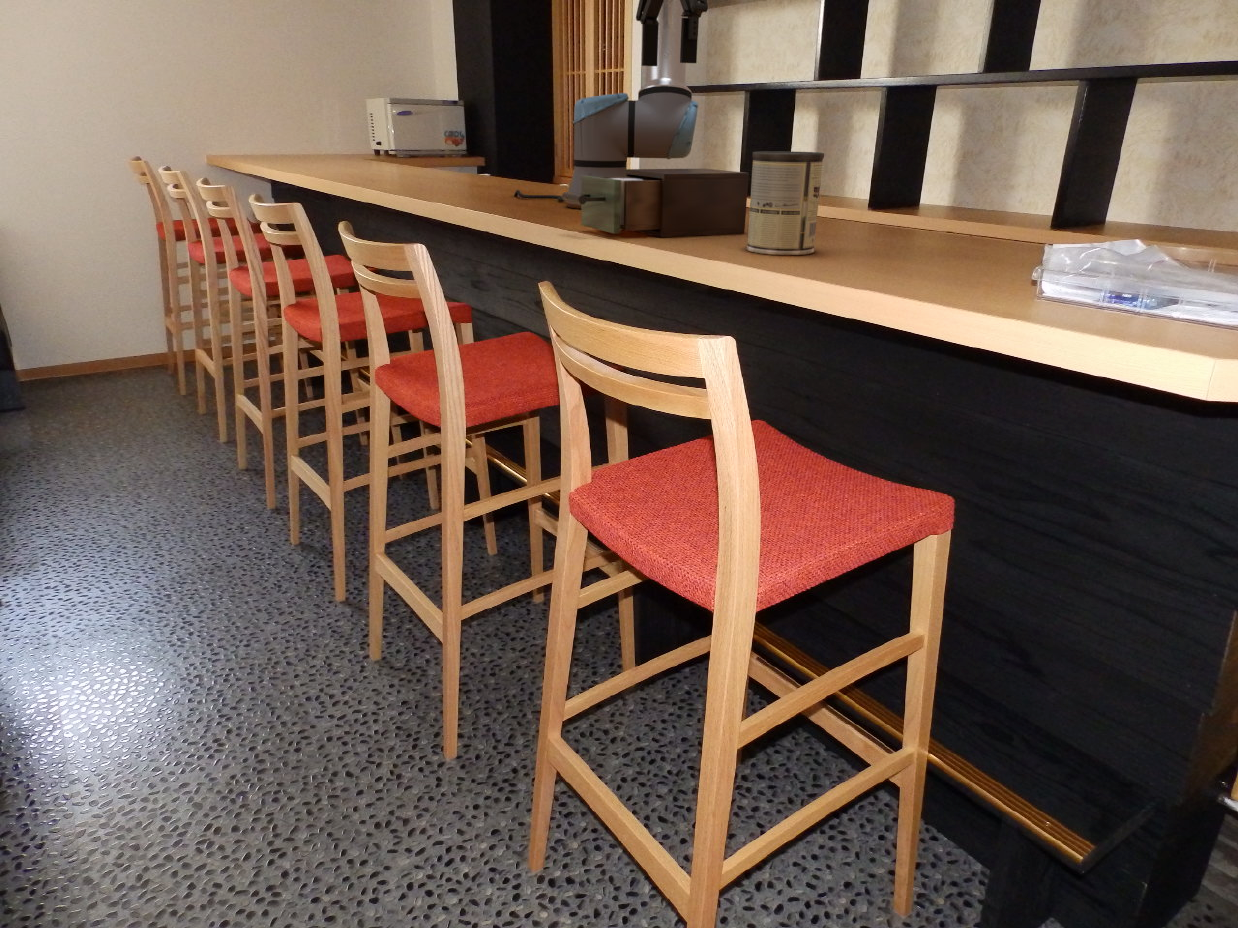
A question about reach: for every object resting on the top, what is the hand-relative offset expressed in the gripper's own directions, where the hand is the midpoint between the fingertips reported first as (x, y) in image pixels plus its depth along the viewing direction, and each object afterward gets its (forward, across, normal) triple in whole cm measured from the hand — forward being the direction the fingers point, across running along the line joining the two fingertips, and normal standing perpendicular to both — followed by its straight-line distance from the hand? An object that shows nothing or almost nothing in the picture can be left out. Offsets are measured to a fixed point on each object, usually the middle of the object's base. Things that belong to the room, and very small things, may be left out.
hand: (668, 65), depth 143 cm
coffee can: (+27, +32, +3) cm, 42 cm away
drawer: (+26, +6, -10) cm, 29 cm away
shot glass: (+25, +6, -11) cm, 28 cm away
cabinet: (+27, +6, +1) cm, 28 cm away
